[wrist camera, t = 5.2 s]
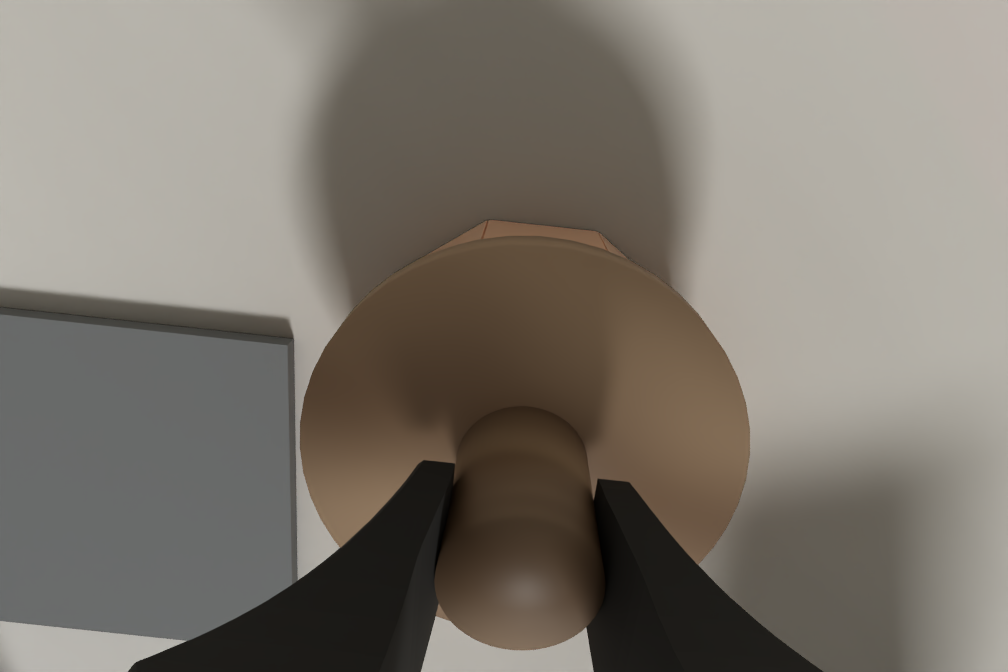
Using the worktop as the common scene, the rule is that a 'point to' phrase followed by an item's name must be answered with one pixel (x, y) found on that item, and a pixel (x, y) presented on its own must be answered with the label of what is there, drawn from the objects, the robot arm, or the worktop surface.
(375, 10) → the worktop surface
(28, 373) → the mat
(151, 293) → the worktop surface
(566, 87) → the worktop surface
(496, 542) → the lid
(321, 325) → the worktop surface
